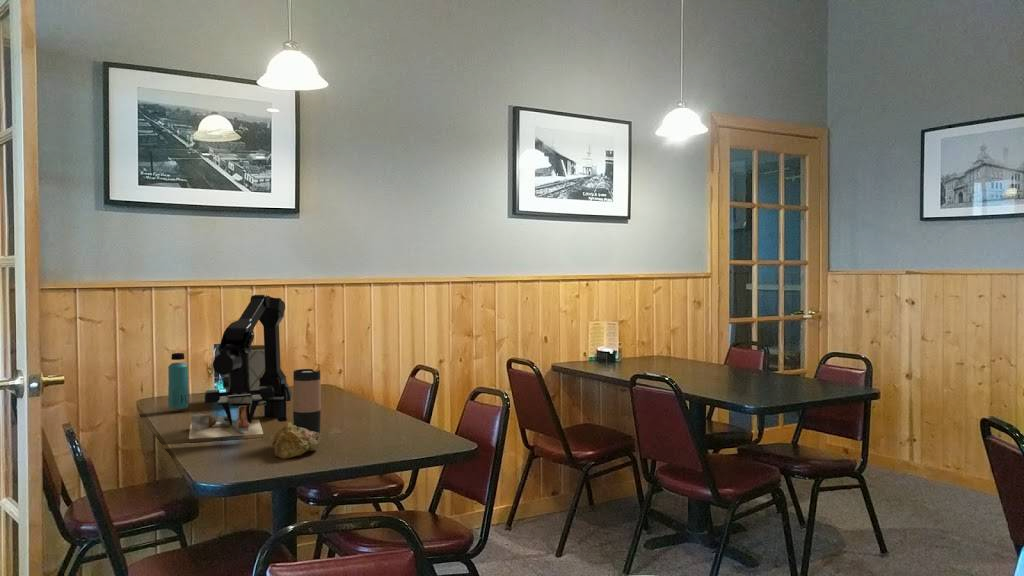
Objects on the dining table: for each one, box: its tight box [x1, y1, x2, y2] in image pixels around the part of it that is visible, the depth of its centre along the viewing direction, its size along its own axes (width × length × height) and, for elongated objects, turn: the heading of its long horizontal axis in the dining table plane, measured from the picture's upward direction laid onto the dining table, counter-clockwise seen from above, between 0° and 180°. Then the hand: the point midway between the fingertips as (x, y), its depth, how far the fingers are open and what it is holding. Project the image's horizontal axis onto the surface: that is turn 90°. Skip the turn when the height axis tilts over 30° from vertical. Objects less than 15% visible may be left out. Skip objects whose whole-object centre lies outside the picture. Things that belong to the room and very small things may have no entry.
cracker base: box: [188, 413, 264, 444], centre depth 233 cm, size 20×22×5 cm
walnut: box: [208, 414, 217, 427], centre depth 236 cm, size 4×4×4 cm
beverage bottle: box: [167, 352, 190, 410], centre depth 266 cm, size 6×7×20 cm
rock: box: [271, 421, 322, 459], centre depth 207 cm, size 12×9×10 cm
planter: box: [224, 344, 266, 406], centre depth 285 cm, size 19×19×20 cm
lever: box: [216, 405, 250, 432], centre depth 233 cm, size 21×3×7 cm, turn 39°
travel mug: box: [292, 368, 322, 434], centre depth 224 cm, size 8×8×20 cm
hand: (240, 424), depth 225 cm, fingers open, 5 cm apart
